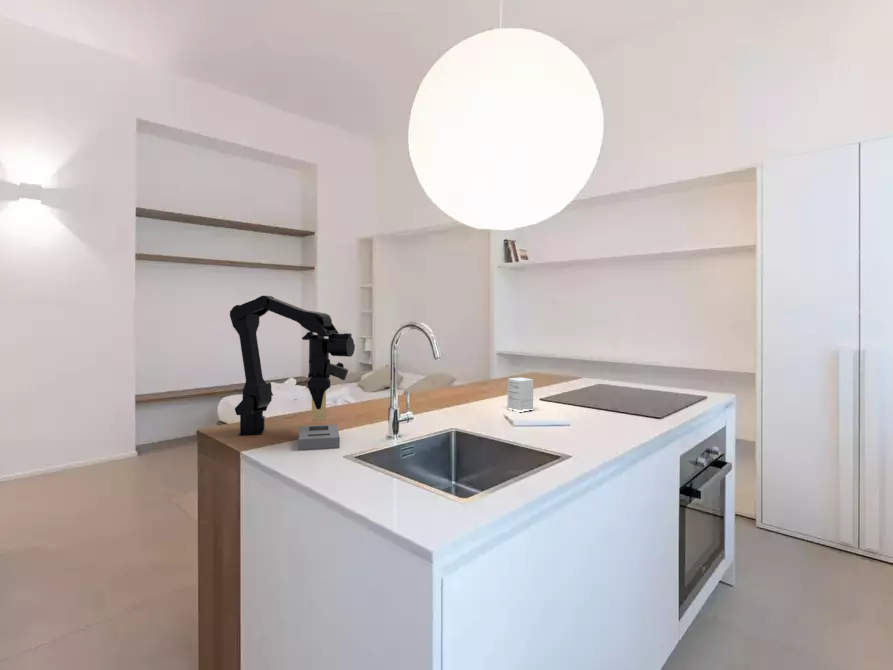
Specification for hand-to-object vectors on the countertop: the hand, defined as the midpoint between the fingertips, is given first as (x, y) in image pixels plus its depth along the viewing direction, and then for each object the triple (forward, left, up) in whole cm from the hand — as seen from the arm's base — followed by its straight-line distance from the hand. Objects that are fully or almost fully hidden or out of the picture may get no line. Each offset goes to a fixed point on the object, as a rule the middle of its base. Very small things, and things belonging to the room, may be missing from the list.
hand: (318, 407), depth 144 cm
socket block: (0, -4, -9) cm, 10 cm away
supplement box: (+77, +27, -9) cm, 82 cm away
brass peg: (0, 0, -4) cm, 4 cm away
